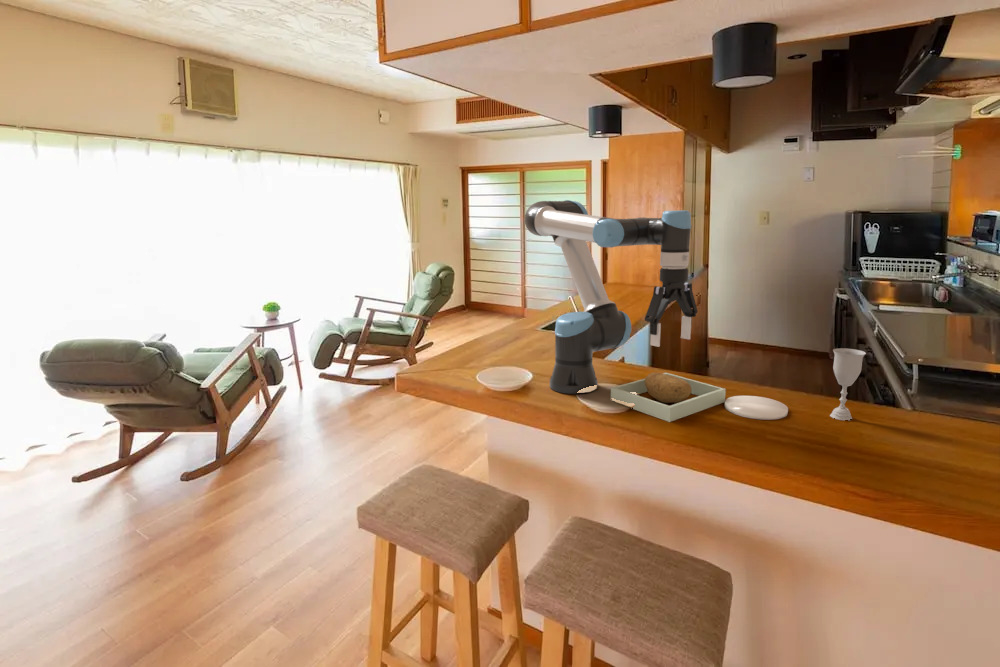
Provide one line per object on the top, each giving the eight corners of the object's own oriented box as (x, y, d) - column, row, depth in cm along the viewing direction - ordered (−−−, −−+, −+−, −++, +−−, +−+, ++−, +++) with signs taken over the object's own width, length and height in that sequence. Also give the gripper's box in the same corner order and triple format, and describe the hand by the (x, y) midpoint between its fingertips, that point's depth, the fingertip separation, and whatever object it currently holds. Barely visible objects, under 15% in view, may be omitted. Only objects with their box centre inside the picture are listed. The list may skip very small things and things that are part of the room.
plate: (712, 407, 155) (713, 403, 155) (744, 395, 164) (745, 392, 164) (767, 424, 142) (768, 420, 142) (799, 410, 151) (799, 406, 151)
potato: (679, 412, 152) (680, 384, 150) (637, 399, 163) (638, 373, 161) (698, 403, 158) (699, 377, 156) (656, 392, 169) (657, 367, 167)
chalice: (853, 413, 148) (861, 349, 144) (860, 423, 142) (869, 355, 138) (822, 411, 151) (830, 347, 147) (828, 420, 144) (836, 353, 140)
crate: (610, 400, 162) (610, 388, 161) (665, 384, 176) (665, 372, 175) (669, 422, 145) (670, 407, 144) (724, 402, 159) (725, 388, 158)
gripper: (655, 271, 142) (652, 351, 146) (713, 265, 156) (708, 337, 160) (633, 269, 148) (630, 346, 152) (690, 263, 162) (686, 333, 166)
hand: (670, 342), depth 156 cm, fingers open, 13 cm apart
